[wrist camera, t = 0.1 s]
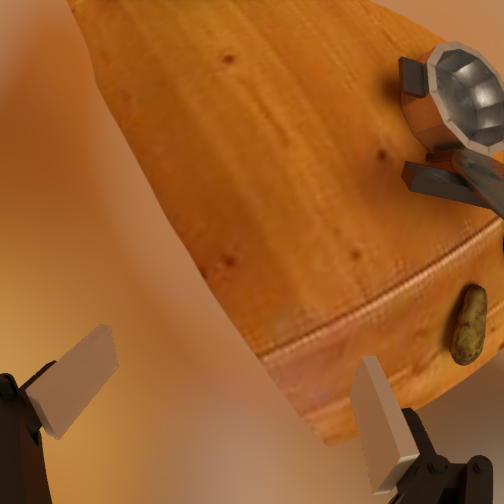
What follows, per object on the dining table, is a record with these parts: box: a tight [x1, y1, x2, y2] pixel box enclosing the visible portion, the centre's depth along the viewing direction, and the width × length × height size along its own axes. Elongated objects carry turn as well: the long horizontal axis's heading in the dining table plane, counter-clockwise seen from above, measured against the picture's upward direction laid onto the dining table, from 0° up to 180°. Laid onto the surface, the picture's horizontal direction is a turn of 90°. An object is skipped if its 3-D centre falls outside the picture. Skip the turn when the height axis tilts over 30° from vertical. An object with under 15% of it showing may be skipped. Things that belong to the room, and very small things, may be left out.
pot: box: [398, 41, 504, 162], centre depth 28 cm, size 17×22×9 cm
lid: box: [401, 149, 504, 220], centre depth 20 cm, size 17×22×3 cm
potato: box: [449, 285, 487, 366], centre depth 36 cm, size 8×13×8 cm, turn 153°
